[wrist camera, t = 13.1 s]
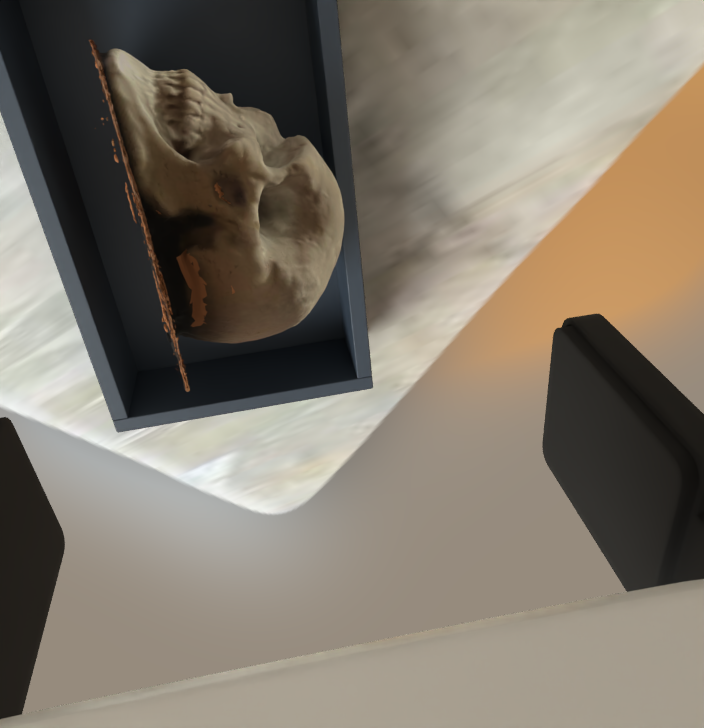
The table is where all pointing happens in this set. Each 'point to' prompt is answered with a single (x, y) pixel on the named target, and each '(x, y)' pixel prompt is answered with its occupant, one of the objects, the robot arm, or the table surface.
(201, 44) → the box
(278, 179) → the skull
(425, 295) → the table surface
